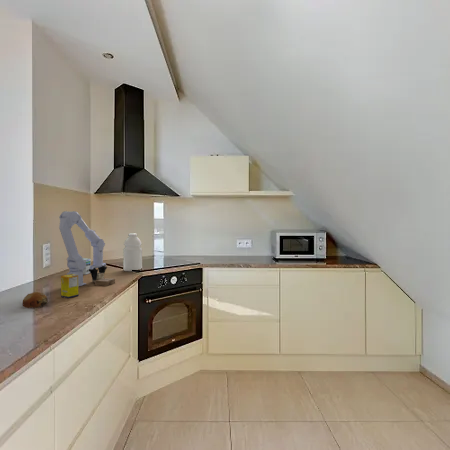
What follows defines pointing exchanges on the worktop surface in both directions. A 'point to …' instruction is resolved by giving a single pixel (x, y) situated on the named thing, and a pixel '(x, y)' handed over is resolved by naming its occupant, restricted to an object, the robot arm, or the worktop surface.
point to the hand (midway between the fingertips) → (98, 279)
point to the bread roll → (35, 300)
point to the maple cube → (99, 276)
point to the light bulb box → (87, 265)
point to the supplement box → (69, 286)
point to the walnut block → (105, 281)
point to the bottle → (132, 253)
